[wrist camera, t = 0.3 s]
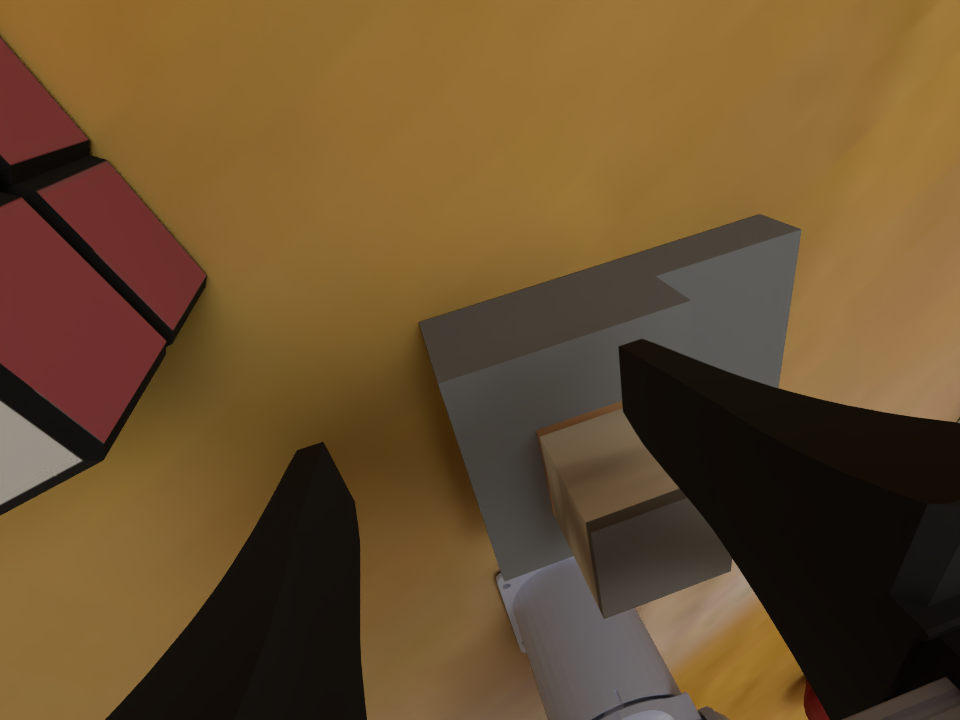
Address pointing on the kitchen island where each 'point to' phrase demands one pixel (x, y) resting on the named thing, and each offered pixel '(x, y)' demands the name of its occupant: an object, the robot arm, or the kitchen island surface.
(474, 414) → the slate step stand
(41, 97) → the puzzle cube
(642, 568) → the maple cube
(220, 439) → the kitchen island surface
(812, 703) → the onion
